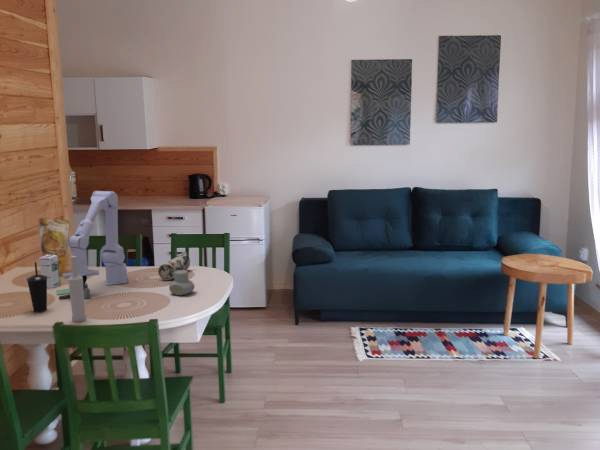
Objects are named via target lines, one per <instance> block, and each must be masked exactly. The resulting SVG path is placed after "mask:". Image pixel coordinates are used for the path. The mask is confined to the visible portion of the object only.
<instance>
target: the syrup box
mask: <svg viewBox="0 0 600 450" xmlns="http://www.w3.org/2000/svg"><path fill="white" fill-rule="evenodd" d="M39 267H40V275H44V276H47V277H48V278H47V289H48V288H49V289H54V288H56V287H58V286H61V284H62V283H61V277H60V273H59V264H58V255H46V256H43V257H42V256H41V257H40V256H39Z"/></svg>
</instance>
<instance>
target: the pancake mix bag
mask: <svg viewBox="0 0 600 450" xmlns="http://www.w3.org/2000/svg"><path fill="white" fill-rule="evenodd" d="M37 221H38V230H39V241H40V248H41V249H40V251H41V257H43V256H46V255H58V264H59V273H60V278H61V276H62V277H63V274H67V270H66V269H67V261H68V251H69V250H68V248H69V245H68V242H69V239H70V231H71V230H70V229H71V222H70V221H69V220H67V219H56V218H46V217H42V218H41V217H40V218H38V219H37Z"/></svg>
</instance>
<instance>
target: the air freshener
mask: <svg viewBox="0 0 600 450" xmlns="http://www.w3.org/2000/svg"><path fill="white" fill-rule="evenodd" d="M174 277H175V278H174V280H173V281H172V282H171V283H170V284H169V287H168V289H169V291H170V293H172V294H173V295H176V296H178V295H181V296H187V295H189V294H190V293H192V292H193V291H194V289H195V283H194V282H193V281H192V280H190V279H189V272H188V270H187V269H186V270H178V271H175V272H174Z"/></svg>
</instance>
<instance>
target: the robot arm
mask: <svg viewBox="0 0 600 450" xmlns="http://www.w3.org/2000/svg"><path fill="white" fill-rule="evenodd" d="M118 196H119V195H118V194H117V193H116V192H115V191H113V190H111V191H107V190H106V191H105V190H104V191H103V190H94V191H93V192H92V194H91V197H90V201H91V204H90V206H89V209H88V211H87V213H86V215H85V218H84V219H82V220H81V221H80V223H79V224H78V226H77V229H76V230H75V232H74V234H73V235H72V236H69V242H68V248H69V249H70V252H71V253H72V254H71V256H77V268H78V273H79V275H80V276H82V277H83V289H84V285H85V283H87V280H88V277H90V276H100V270H99V269H92V270H89V268H88V258H87V247H88V246H89V244H90V241H89V240H90V236H91V233H92V231H93V228H94V223H93V222H94V220H95V219H96V218H97V216H98V215H99V213H100V211H101V210H104V211H105V244H104V245H103V246H102V247H101V253H100V256H99V257H100V261H101V262H102V263H103V265H104V267H105V279H106V280H104V283H105V285H106V286H113V285H114V286H115V285H121V284H127V283H129V282H128V270H127V265H126V263H125V262H124V261H125V257H126V256H125V252H124V247H123V246H121V245H120V244H119V223H118V221H119V219H118V218H119V217H118V214H119V213H118V211H119V209H118V207H119V201H118V200H119V199H118V198H119V197H118ZM71 276H72V272H66V274H63V276H62V278H63V280H67V279H69V278H70V277H71Z"/></svg>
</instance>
